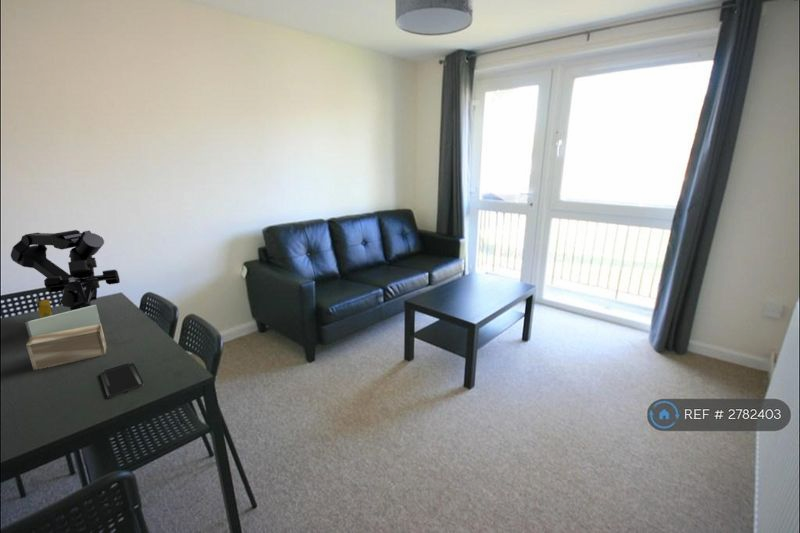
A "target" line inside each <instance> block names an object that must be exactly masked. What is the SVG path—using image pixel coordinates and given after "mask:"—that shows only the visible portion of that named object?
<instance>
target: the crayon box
mask: <svg viewBox="0 0 800 533" xmlns="http://www.w3.org/2000/svg"><path fill="white" fill-rule="evenodd" d="M35 304H36V307H37V310H38V314H39V317H40V318H44V317H48V316H52V315H54V313H53V308H52V306H51V302H50V299H43V300H39V298H38V297H36V298H35ZM40 318H39V319H40Z"/></svg>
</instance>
